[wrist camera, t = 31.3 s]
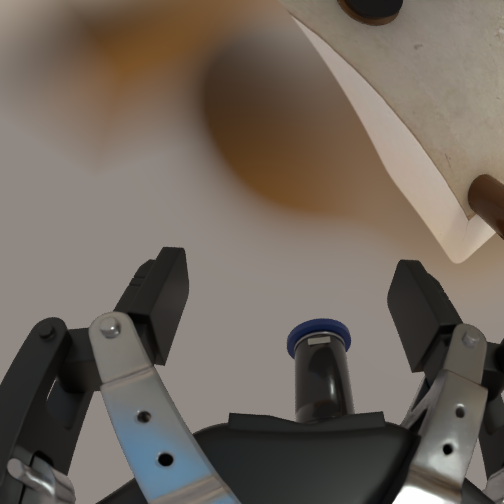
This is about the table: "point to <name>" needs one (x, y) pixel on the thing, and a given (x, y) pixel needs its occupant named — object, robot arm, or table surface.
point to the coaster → (365, 20)
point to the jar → (488, 201)
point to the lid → (374, 8)
